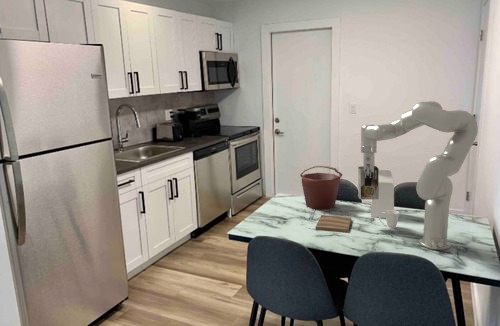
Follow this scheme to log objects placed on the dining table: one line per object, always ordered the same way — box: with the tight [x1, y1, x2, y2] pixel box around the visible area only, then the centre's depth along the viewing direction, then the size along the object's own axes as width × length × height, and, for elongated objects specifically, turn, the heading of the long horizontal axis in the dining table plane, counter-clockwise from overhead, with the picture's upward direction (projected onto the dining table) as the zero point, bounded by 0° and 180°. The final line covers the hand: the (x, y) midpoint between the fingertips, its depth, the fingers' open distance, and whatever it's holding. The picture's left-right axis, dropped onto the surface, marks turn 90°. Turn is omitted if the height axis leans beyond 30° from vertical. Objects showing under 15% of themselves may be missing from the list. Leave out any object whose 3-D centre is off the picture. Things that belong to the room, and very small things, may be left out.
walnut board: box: [315, 214, 352, 233], centre depth 201 cm, size 20×16×2 cm
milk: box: [370, 168, 395, 219], centre depth 213 cm, size 12×12×26 cm
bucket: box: [300, 165, 343, 211], centre depth 233 cm, size 24×22×25 cm
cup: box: [378, 209, 400, 230], centre depth 195 cm, size 7×10×8 cm
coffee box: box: [357, 165, 380, 200], centre depth 195 cm, size 9×6×16 cm
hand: (368, 183), depth 195 cm, fingers closed on coffee box, 7 cm apart
